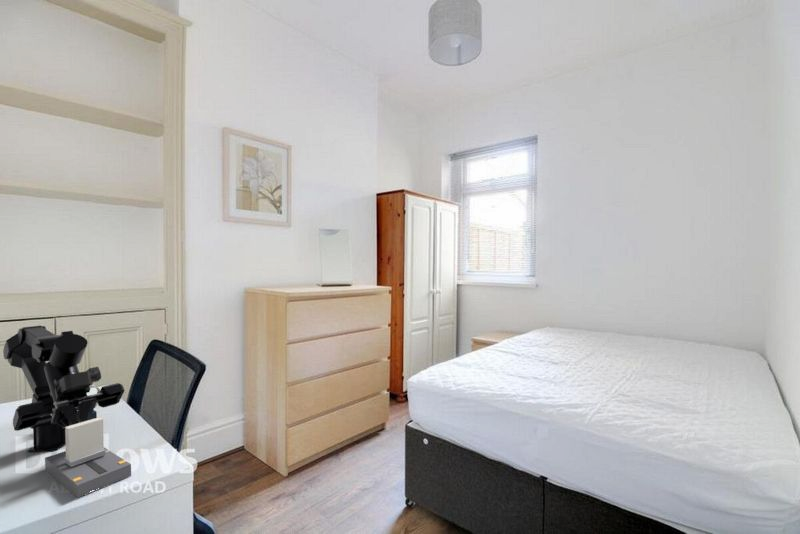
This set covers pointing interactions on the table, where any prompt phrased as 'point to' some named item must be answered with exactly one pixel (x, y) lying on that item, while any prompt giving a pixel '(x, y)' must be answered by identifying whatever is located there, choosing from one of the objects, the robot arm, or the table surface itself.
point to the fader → (84, 441)
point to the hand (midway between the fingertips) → (82, 436)
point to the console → (88, 472)
